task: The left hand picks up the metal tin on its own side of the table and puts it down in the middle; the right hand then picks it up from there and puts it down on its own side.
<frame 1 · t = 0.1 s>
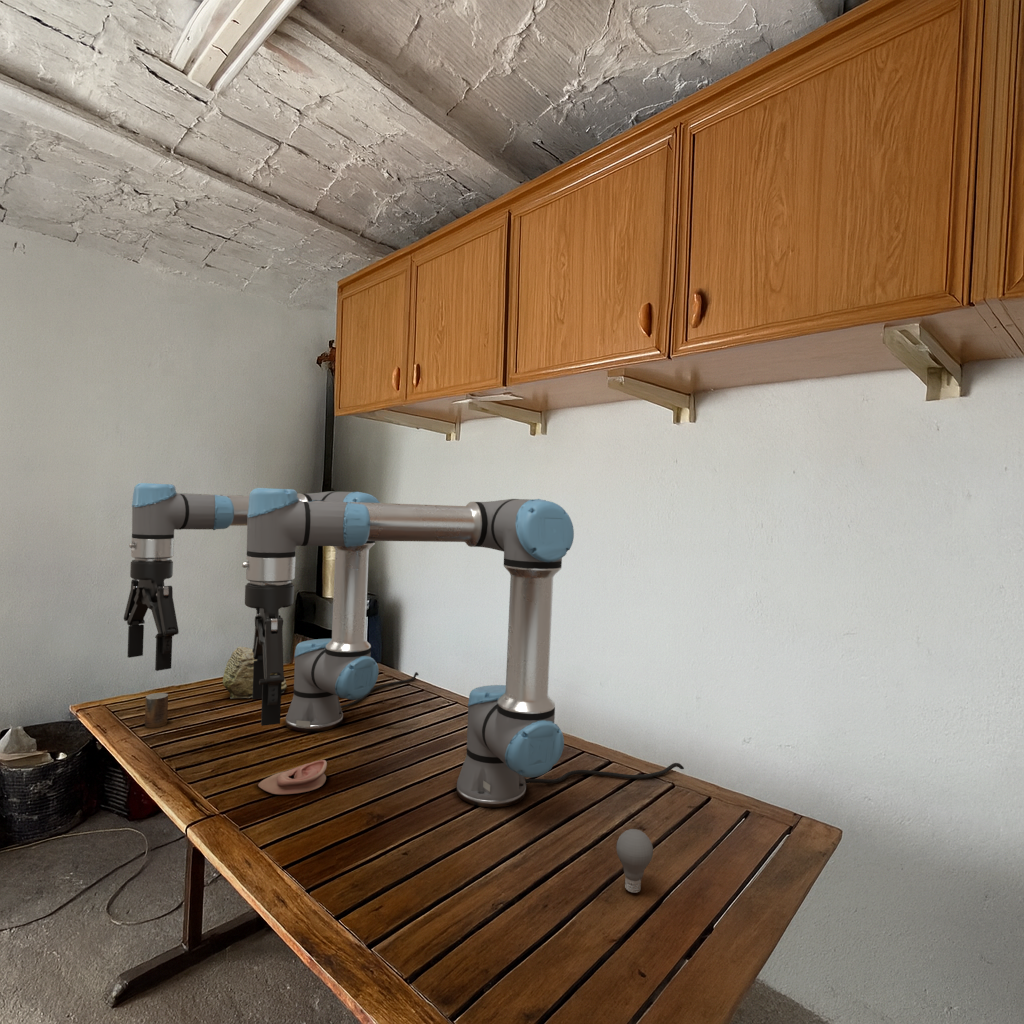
left hand: (148, 662, 129), 28 cm above the table, tool pointing down, fingers open, 13 cm apart
right hand: (265, 710, 104), 28 cm above the table, tool pointing down, fingers open, 13 cm apart
fossil: (254, 694, 198), on the table
tin: (156, 724, 170), on the table
anatomical model: (292, 784, 139), on the table
light bulb: (632, 891, 106), on the table
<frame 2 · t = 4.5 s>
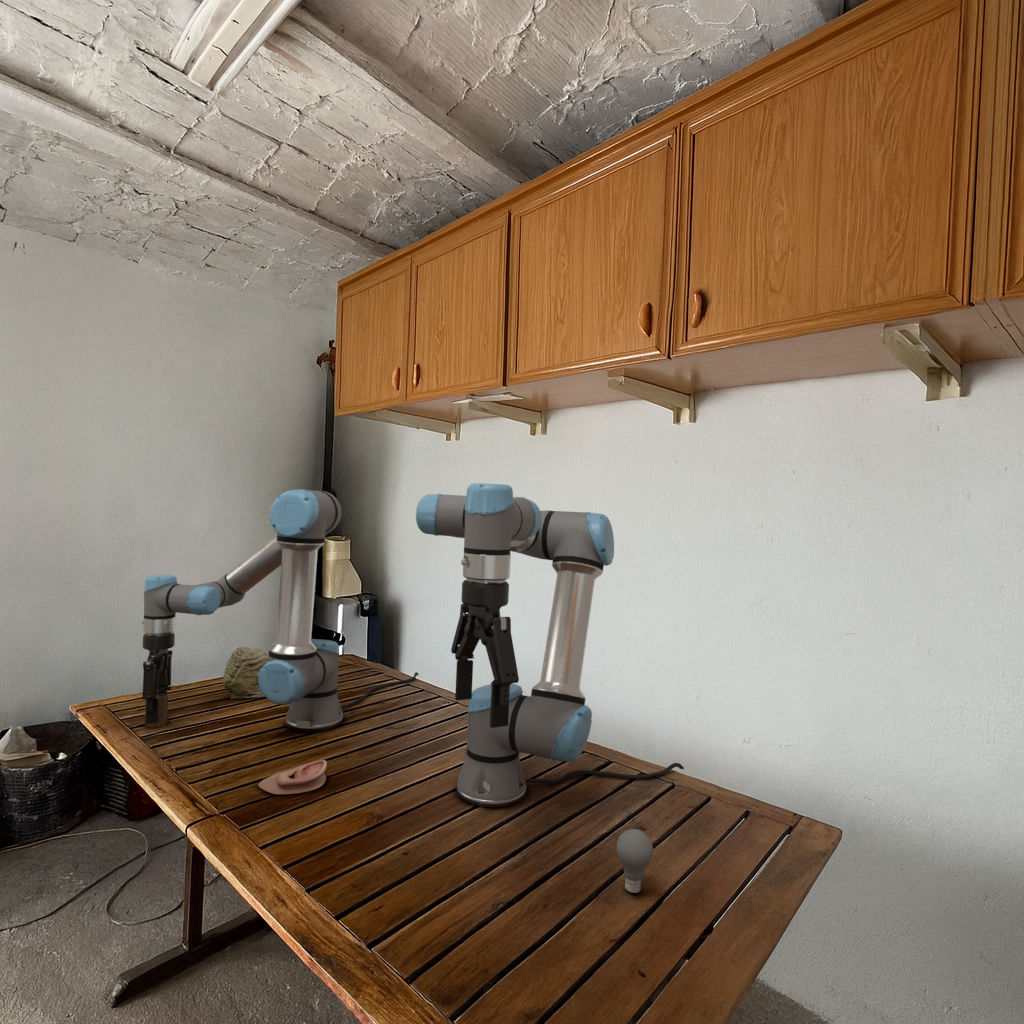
left hand: (156, 718, 170), 1 cm above the table, tool pointing down, fingers closed on tin, 5 cm apart
right hand: (480, 712, 102), 30 cm above the table, tool pointing down, fingers open, 13 cm apart
tin: (156, 724, 170), on the table, touching left hand
everything else where it was.
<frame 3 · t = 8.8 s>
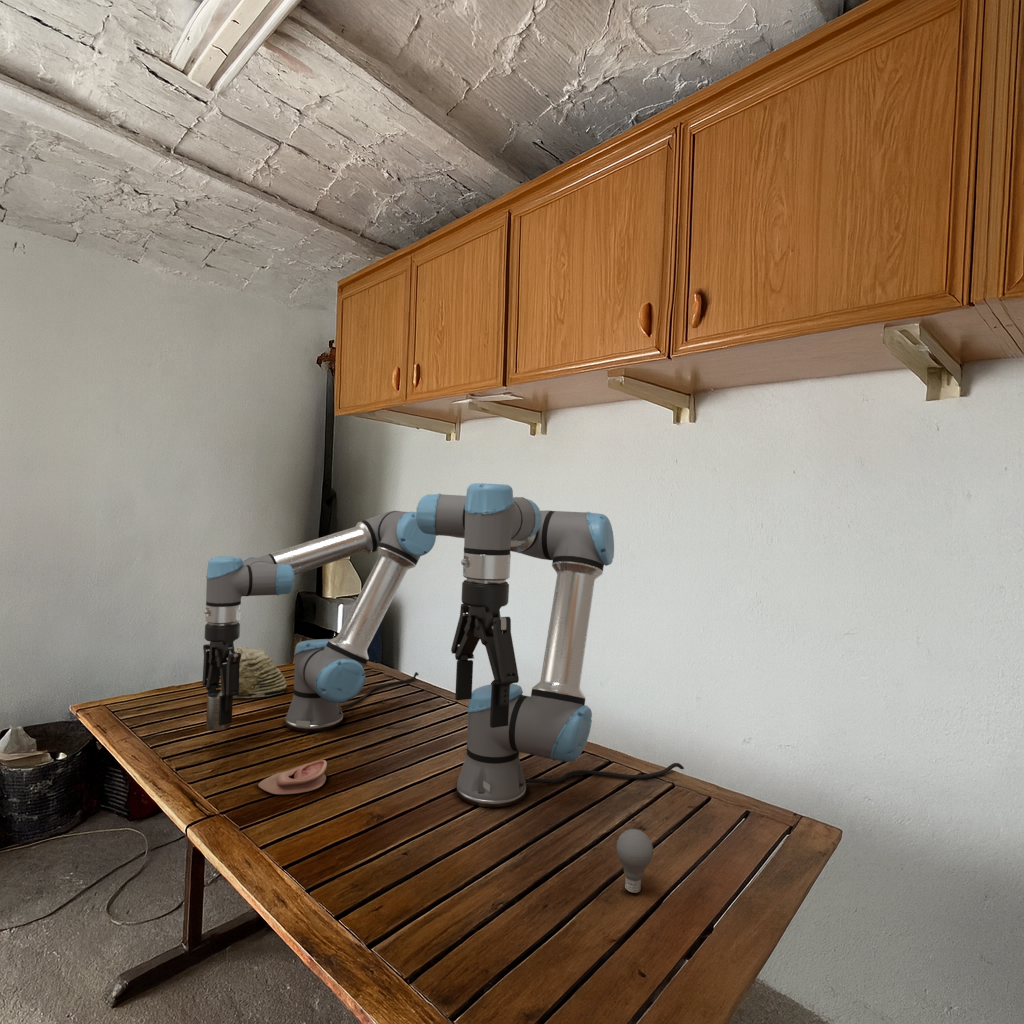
left hand: (219, 720, 149), 10 cm above the table, tool pointing down, fingers closed on tin, 5 cm apart
right hand: (480, 712, 102), 30 cm above the table, tool pointing down, fingers open, 13 cm apart
tin: (218, 726, 149), point 8 cm above the table, touching left hand
everything else where it was.
when the left hand's fingers open (3 cm above the table, at t = 13.4 s): tin drops 2 cm, on the table.
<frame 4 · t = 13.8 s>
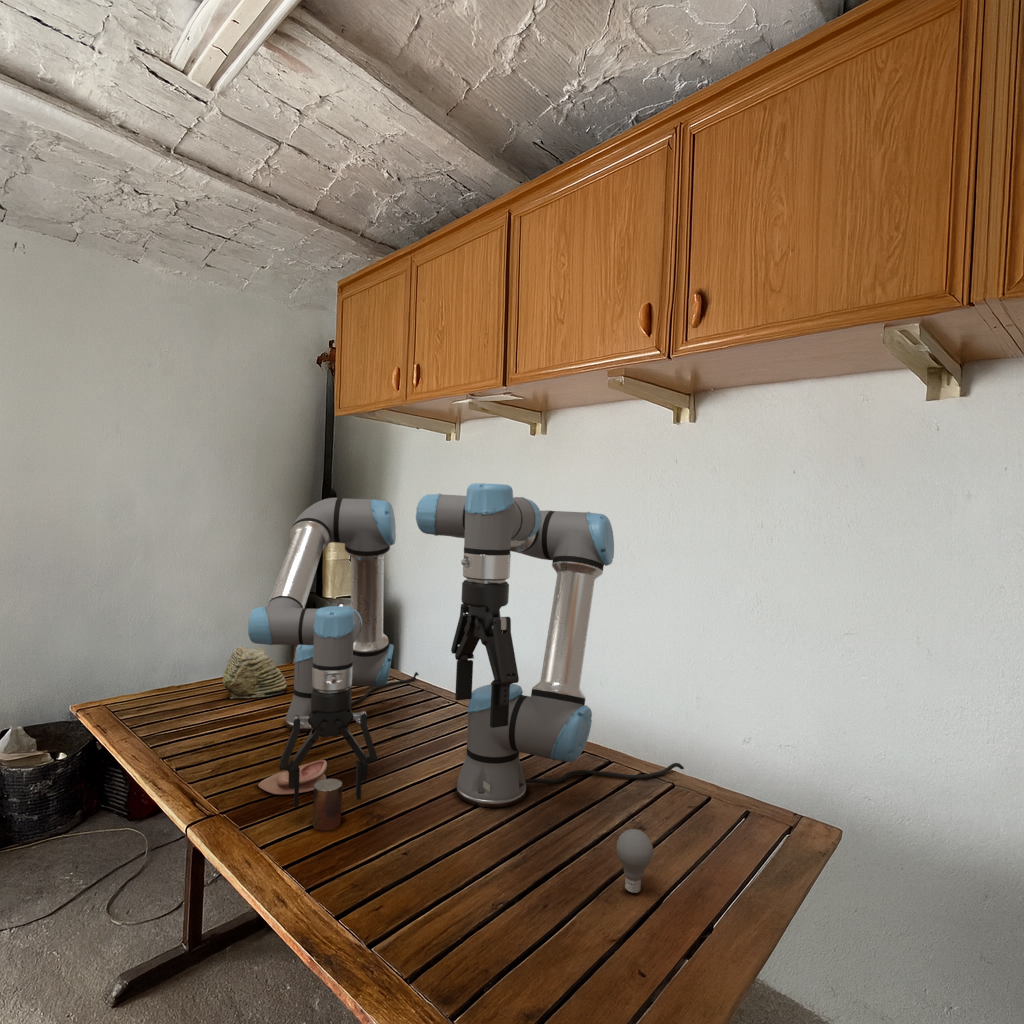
left hand: (327, 800, 123), 5 cm above the table, tool pointing down, fingers open, 11 cm apart
right hand: (480, 712, 102), 30 cm above the table, tool pointing down, fingers open, 13 cm apart
tin: (326, 823, 123), on the table
everything else where it was.
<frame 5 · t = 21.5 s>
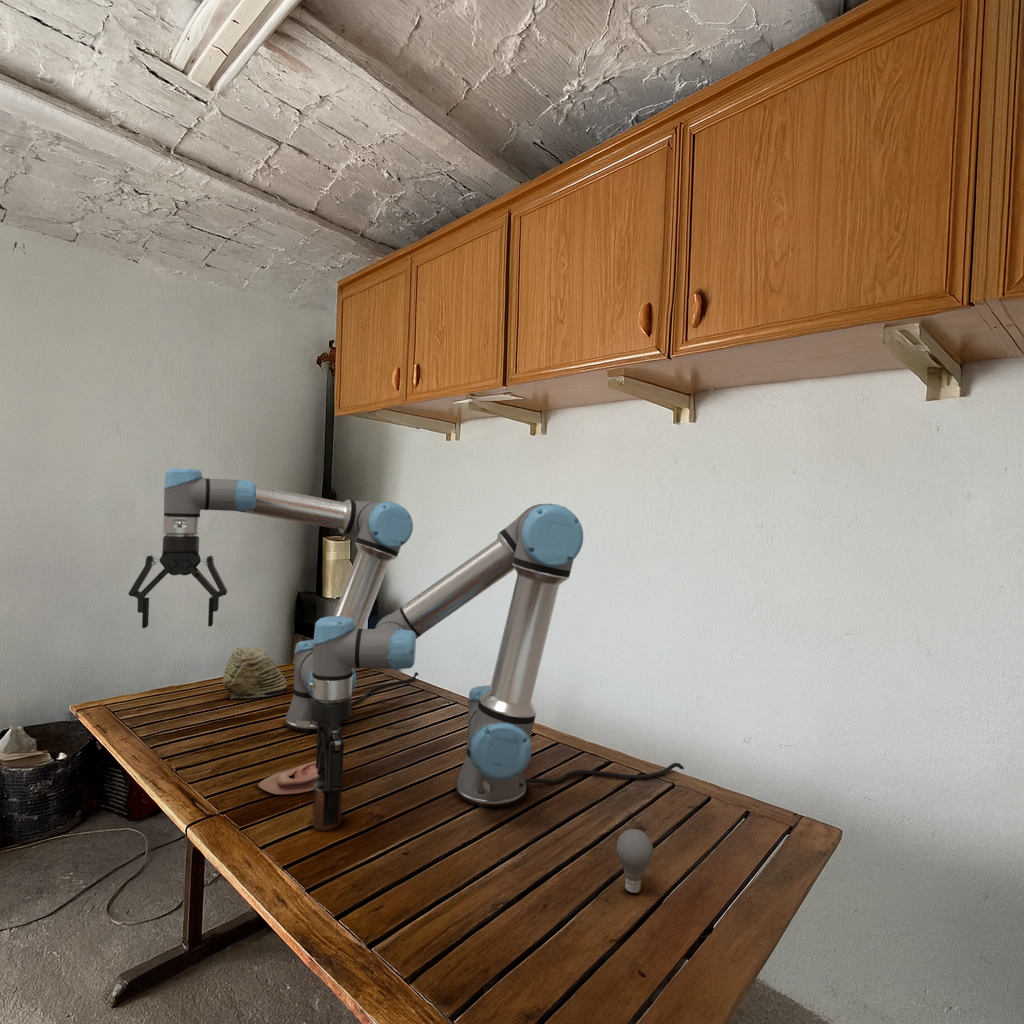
left hand: (178, 626, 147), 32 cm above the table, tool pointing down, fingers open, 13 cm apart
right hand: (326, 816, 123), 1 cm above the table, tool pointing down, fingers closed on tin, 5 cm apart
tin: (326, 823, 123), on the table, touching right hand
everything else where it was.
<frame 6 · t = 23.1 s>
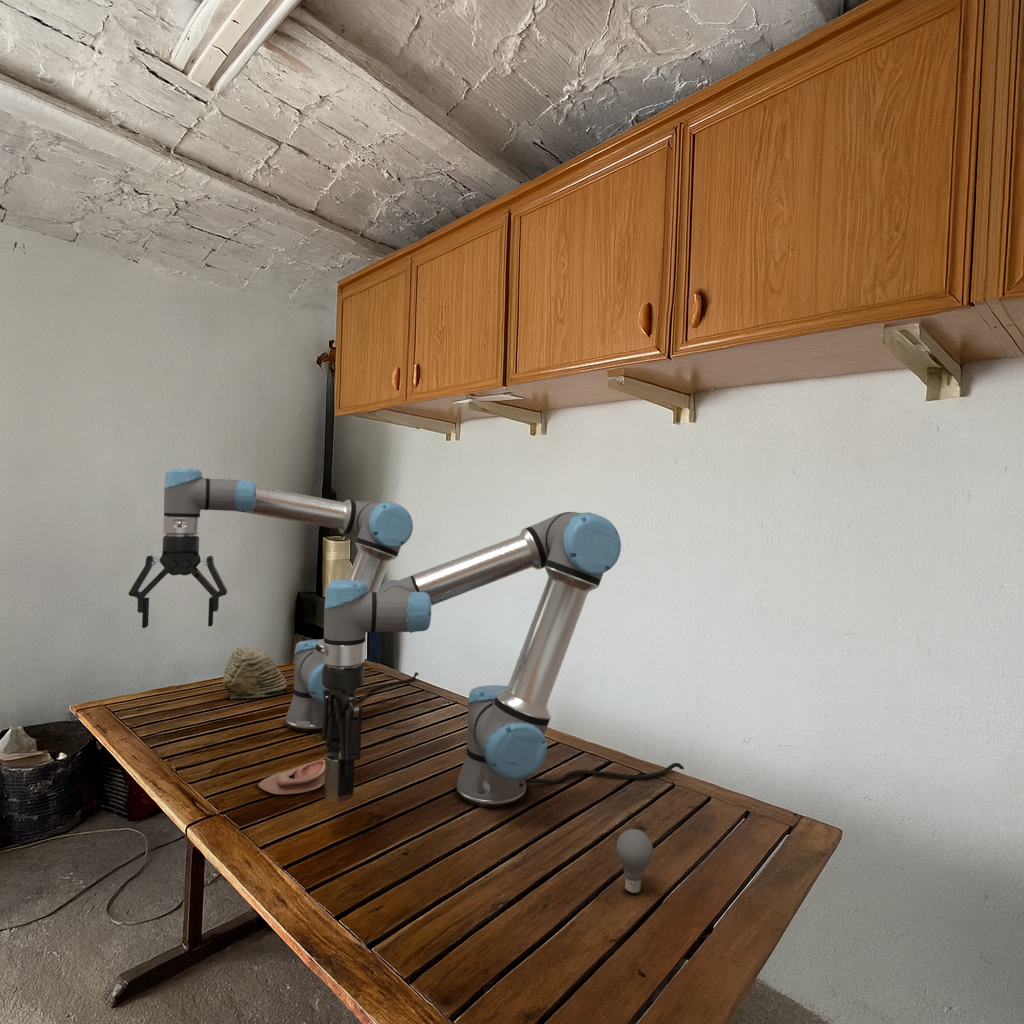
left hand: (178, 626, 147), 32 cm above the table, tool pointing down, fingers open, 13 cm apart
right hand: (339, 787, 118), 9 cm above the table, tool pointing down, fingers closed on tin, 5 cm apart
tin: (338, 795, 118), point 8 cm above the table, touching right hand
everything else where it was.
when the right hand's fingers open (3 cm above the table, at t = 25.2 s): tin drops 2 cm, on the table.
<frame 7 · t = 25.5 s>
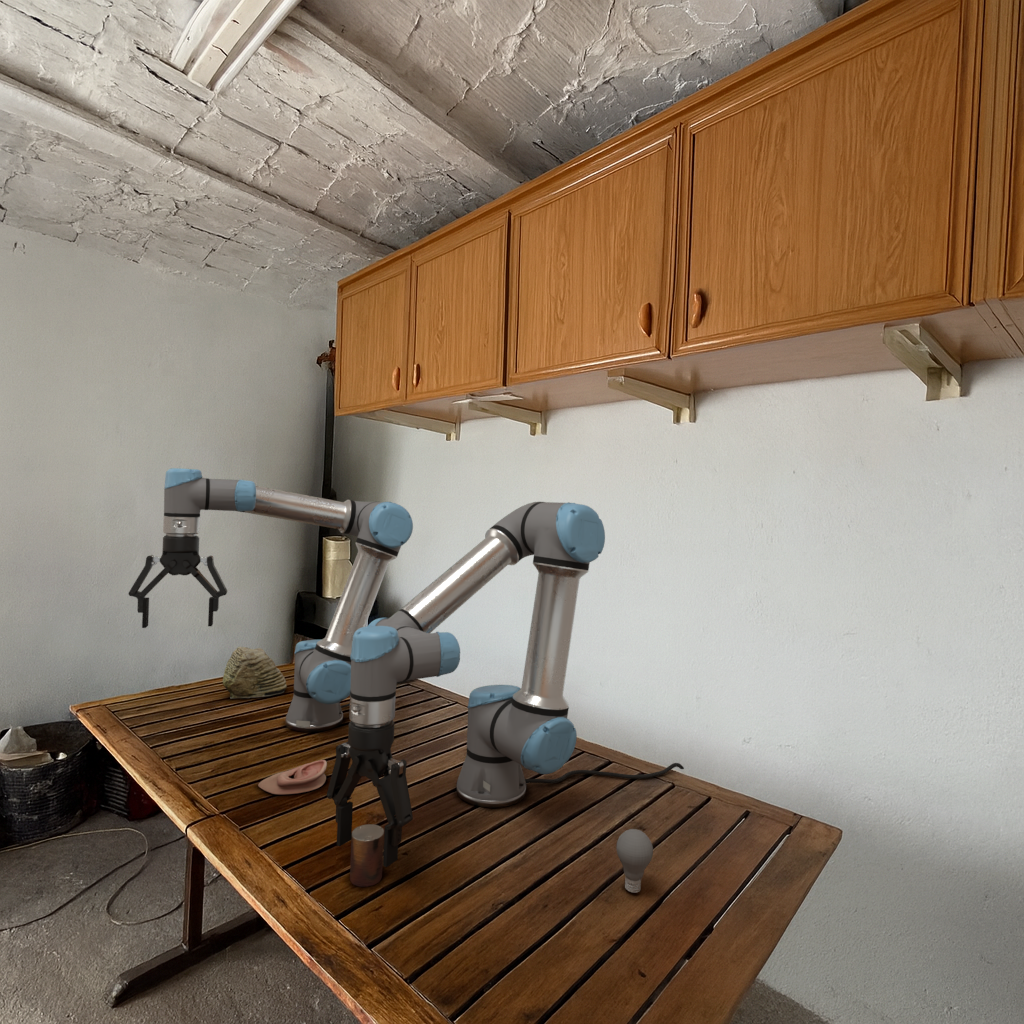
left hand: (178, 626, 147), 32 cm above the table, tool pointing down, fingers open, 13 cm apart
right hand: (366, 852, 106), 4 cm above the table, tool pointing down, fingers open, 10 cm apart
tin: (366, 877, 106), on the table
everything else where it was.
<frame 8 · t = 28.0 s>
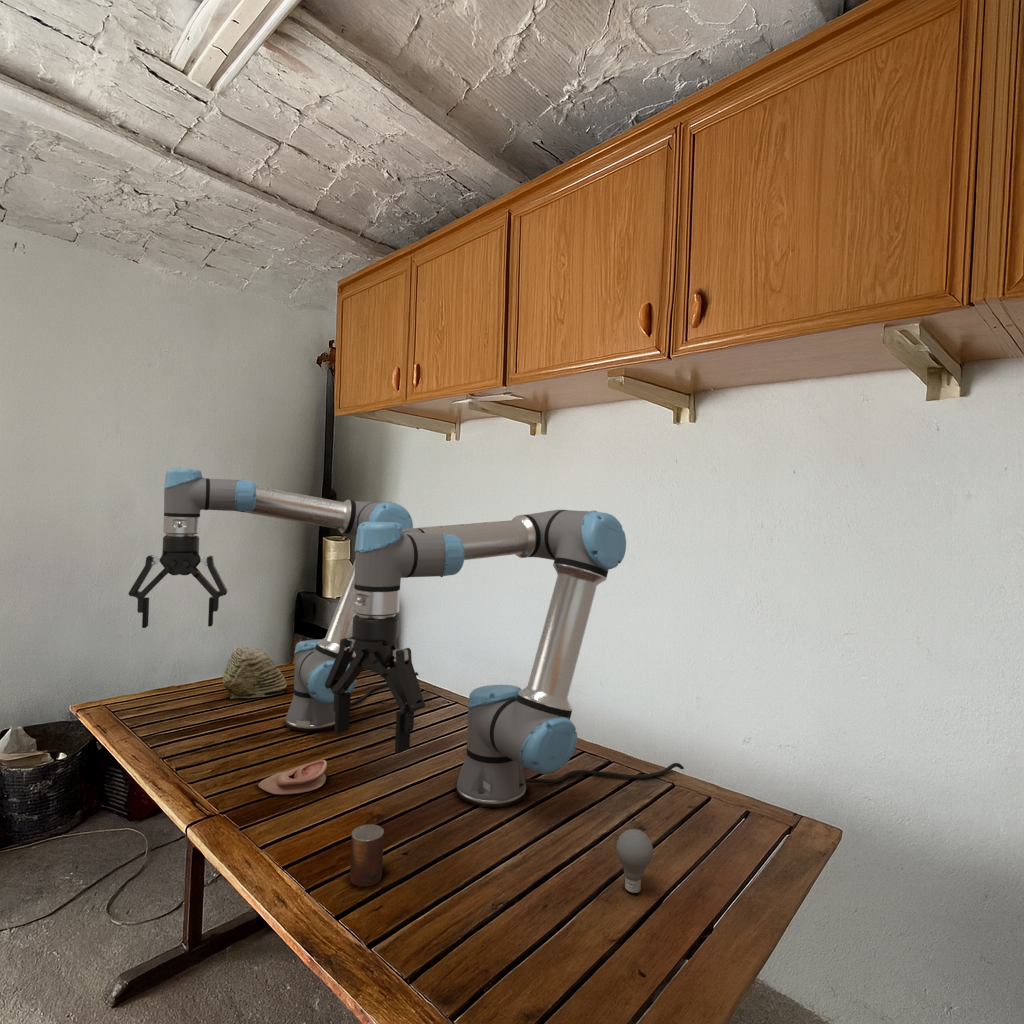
left hand: (178, 626, 147), 32 cm above the table, tool pointing down, fingers open, 13 cm apart
right hand: (371, 741, 106), 23 cm above the table, tool pointing down, fingers open, 13 cm apart
nothing on the table moved.
at the end: tin inside the target area (0.1 cm from its centre), on the table; tin tilted 0°; the two hands never held the tin at the same time; the left hand is holding nothing; the right hand is holding nothing; tin at rest at the end (0.0 cm/s) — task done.
